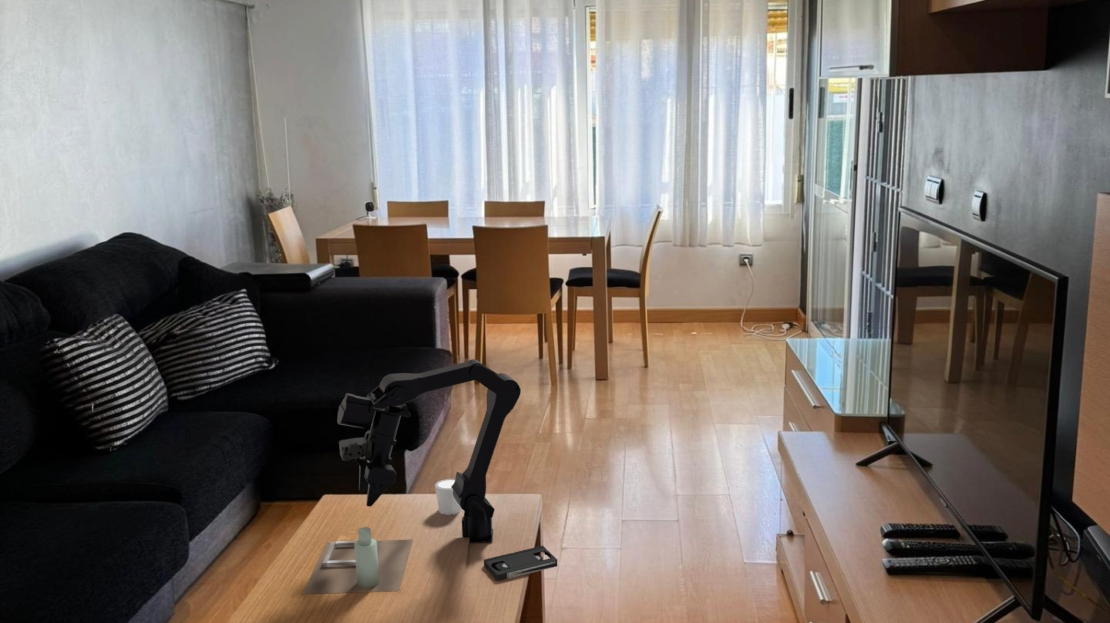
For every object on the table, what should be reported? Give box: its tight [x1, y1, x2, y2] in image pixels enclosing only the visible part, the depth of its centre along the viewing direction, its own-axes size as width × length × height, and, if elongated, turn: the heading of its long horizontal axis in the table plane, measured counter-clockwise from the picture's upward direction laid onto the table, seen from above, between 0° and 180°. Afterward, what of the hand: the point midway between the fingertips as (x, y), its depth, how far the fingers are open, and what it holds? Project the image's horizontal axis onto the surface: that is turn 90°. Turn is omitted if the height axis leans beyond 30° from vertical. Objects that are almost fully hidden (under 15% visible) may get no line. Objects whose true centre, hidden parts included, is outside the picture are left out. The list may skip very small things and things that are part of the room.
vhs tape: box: [483, 545, 558, 582], centre depth 215 cm, size 14×8×2 cm, turn 115°
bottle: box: [354, 526, 379, 588], centre depth 207 cm, size 5×5×12 cm
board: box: [301, 538, 414, 596], centre depth 216 cm, size 20×24×2 cm
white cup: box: [434, 478, 463, 516], centre depth 245 cm, size 7×7×7 cm
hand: (365, 498), depth 218 cm, fingers open, 9 cm apart
